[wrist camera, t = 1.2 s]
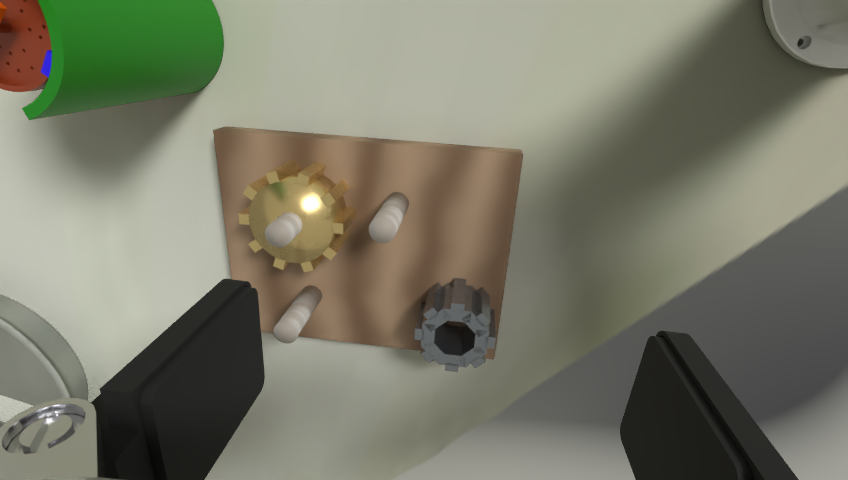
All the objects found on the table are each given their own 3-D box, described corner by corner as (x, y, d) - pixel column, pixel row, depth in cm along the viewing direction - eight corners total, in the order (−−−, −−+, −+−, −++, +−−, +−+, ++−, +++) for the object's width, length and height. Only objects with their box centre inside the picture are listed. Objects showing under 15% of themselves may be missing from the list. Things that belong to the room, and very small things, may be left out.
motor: (95, 33, 38) (-256, 17, 20) (132, -70, 35) (-251, -201, 17) (200, 107, 40) (-40, 156, 22) (244, 15, 37) (5, -20, 18)
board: (521, 149, 38) (531, 175, 30) (493, 346, 46) (495, 407, 38) (225, 126, 40) (164, 144, 32) (247, 318, 48) (202, 369, 40)
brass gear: (355, 164, 38) (342, 176, 34) (356, 256, 41) (343, 276, 38) (256, 156, 39) (233, 167, 35) (264, 247, 42) (244, 265, 39)
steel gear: (498, 282, 41) (499, 308, 37) (489, 344, 43) (490, 375, 39) (423, 274, 41) (416, 299, 37) (419, 336, 44) (412, 366, 40)
